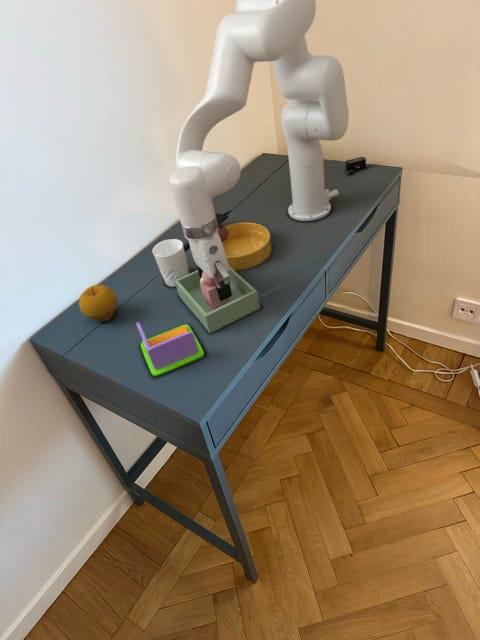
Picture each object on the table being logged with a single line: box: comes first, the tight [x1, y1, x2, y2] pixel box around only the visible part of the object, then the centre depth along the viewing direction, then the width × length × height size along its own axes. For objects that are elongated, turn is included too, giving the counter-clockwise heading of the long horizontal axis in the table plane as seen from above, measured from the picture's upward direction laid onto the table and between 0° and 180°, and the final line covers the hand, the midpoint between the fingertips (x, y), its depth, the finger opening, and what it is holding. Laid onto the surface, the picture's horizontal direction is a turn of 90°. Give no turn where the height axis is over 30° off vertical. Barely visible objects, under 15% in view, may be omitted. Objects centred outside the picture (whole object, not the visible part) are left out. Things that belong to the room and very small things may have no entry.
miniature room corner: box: [135, 321, 205, 377], centre depth 99 cm, size 12×12×7 cm
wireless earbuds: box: [345, 156, 367, 175], centre depth 152 cm, size 5×7×3 cm, turn 102°
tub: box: [175, 266, 261, 334], centre depth 110 cm, size 13×17×5 cm
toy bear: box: [200, 271, 231, 309], centre depth 108 cm, size 5×5×10 cm
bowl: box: [217, 222, 273, 271], centre depth 125 cm, size 17×17×4 cm
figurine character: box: [215, 212, 230, 241], centre depth 133 cm, size 7×8×15 cm
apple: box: [78, 284, 118, 322], centre depth 112 cm, size 9×9×9 cm
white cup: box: [152, 238, 190, 288], centre depth 119 cm, size 8×8×10 cm
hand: (216, 288), depth 109 cm, fingers open, 9 cm apart
